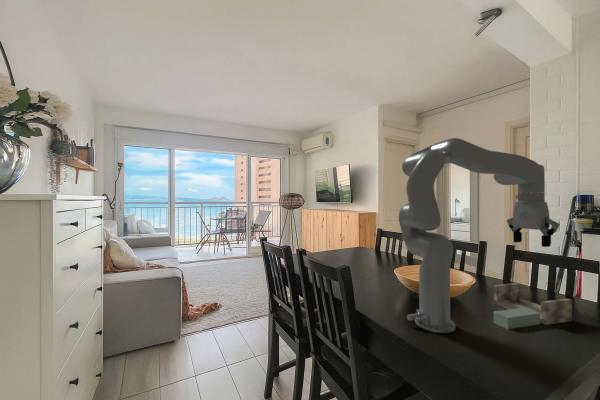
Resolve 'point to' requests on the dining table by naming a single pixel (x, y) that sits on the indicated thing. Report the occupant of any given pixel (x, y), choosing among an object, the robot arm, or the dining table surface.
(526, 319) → the grey-green rectangular block
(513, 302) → the shelf frame
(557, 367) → the dining table surface
